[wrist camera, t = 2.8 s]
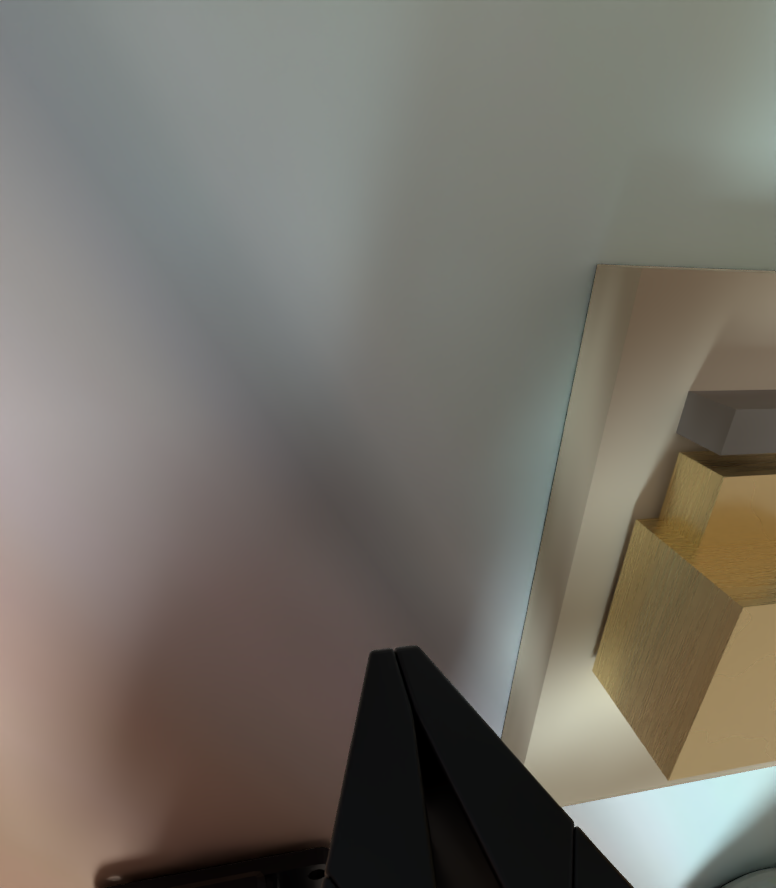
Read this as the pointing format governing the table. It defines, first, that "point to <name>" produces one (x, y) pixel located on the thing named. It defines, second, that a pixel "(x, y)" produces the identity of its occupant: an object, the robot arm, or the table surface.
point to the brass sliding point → (699, 619)
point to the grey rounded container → (755, 880)
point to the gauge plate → (630, 496)
